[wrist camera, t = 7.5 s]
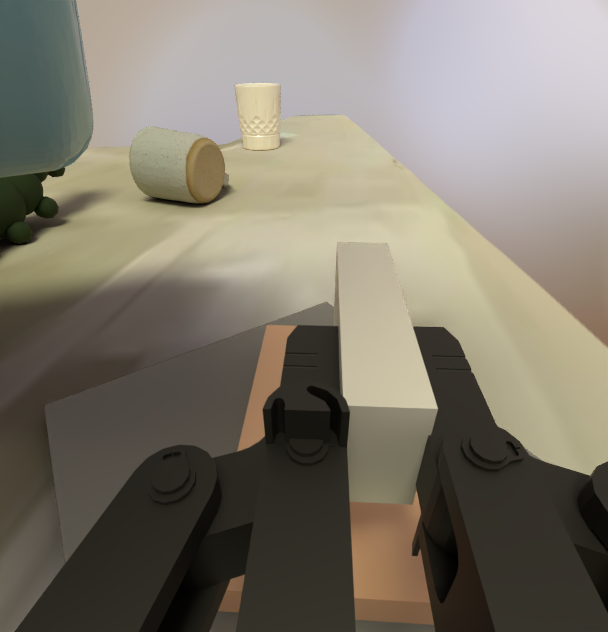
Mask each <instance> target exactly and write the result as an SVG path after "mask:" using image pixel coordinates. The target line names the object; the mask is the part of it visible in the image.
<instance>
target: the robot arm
mask: <svg viewBox="0 0 608 632" xmlns="http://www.w3.org/2000/svg"><path fill="white" fill-rule="evenodd" d="M92 133H93V112H92V103H91V95H90V88H89V81H88V75H87V67H86V61H85V54H84V48H83V41H82V35H81V29H80V23H79V16H78V10H77V4H76V0H0V178H2V177H10V176H17V175H25V174H33V173H41V172H48V171H55V170H58V169H61V168H63V167H66V166H69V165H70V164H72V163H74V162H75V161H76V160H77V159H78V158H79V157H80V156H81V154H82V153H83V152H84V151H85V150H86V149H87V147H88V145H89V142H90V140H91V137H92ZM262 410H263V420H264V430H265V436H264V437H263V438H262V439H261V440H260V441H259V442H257V443H256V444H254V445H252V446H251V447H249V448H246V449H243V450H240V451H238V452H234V453H230V454H226V455H222V456H218V457H214V458H212V457H211V456H210V455H209V453H208V452H207V451H205V450H203V449H201V448H199V447H197V446H193V445H176V446H172V447H167V448H163V449H162V450H160V451H158V452H156V453H154V454H153V455H151V456H149V457H148V458H147V459H146V460H145V461H144V462H143V463H142V464H141V465H140V466H139V467H138V468H137V469H136V470H135V471H134V472H133V473H132V475H131V476H130V477H129V479H128V480H127V482H126V483H125V484H124V486H123V487H122V488H121V490H120V491H119V492H118V494H117V495H116V496H115V498H114V499H113V500H112V502H111V503H110V504H109V506H108V507H107V508H106V510H105V511H104V512H103V514H102V515H101V516H100V518H99V519H98V520H97V522H96V523H95V524H94V526H93V527H92V528H91V530H90V531H89V533H88V534H87V535H86V537H85V538H84V539H83V541H82V542H81V543H80V545H79V546H78V547H77V549H76V550H75V551H74V553H73V554H72V555H71V557H70V558H69V559H68V561H67V562H66V563H65V565H64V566H63V567H62V569H61V570H60V571H59V573H58V574H57V575H56V577H55V578H54V579H53V581H52V582H51V584H50V585H49V586H48V588H47V589H46V590H45V592H44V593H43V594H42V596H41V597H40V598H39V600H38V601H37V602H36V604H35V605H34V606H33V608H32V609H31V610H30V612H29V613H28V614H27V616H26V617H25V618H24V620H23V621H22V622H21V624H20V625H19V626H18V628H17V629H16V630H15V632H210V629H211V627H212V624H213V622H214V619H215V617H216V614H217V612H218V609H219V607H220V605H221V602H222V600H223V597H224V595H225V592H226V590H227V587H228V585H229V582H230V580H231V579H233V578H236V577H239V576H242V575H245V577H244V583H243V589H242V595H241V602H240V608H239V614H238V620H237V626H236V632H356V625H355V604H354V583H353V561H352V540H351V519H350V502H367V503H388V504H409V505H413V501H414V497H415V493H416V490H417V495H418V500H419V505H420V510H421V515H420V519H419V522H418V525H417V529H416V532H415V536H414V539H413V542H412V556H418V554H419V551H420V550H421V555H422V561H423V566H424V572H425V577H426V583H427V588H428V594H429V599H430V605H431V611H432V616H433V622H434V627H435V632H608V462H605V463H603V464H601V465H599V466H597V467H596V468H595V470H594V471H593V473H592V474H591V476H589V475H586V474H583V473H579V472H576V471H573V470H569V469H566V468H563V467H559V466H556V465H553V464H549V463H546V462H544V461H541V460H539V459H536V458H534V457H532V456H530V455H529V454H528V452H527V451H526V450H525V448H524V447H523V445H522V444H521V443H520V441H518V440H517V439H516V438H515V437H513V436H512V435H511V434H510V433H508V432H507V431H506V430H504V429H502V428H499V427H498V426H497V425H496V423H495V421H494V419H493V416H492V414H491V412H490V410H489V407H488V405H487V403H486V401H485V399H484V396H483V394H482V392H481V390H480V388H479V385H478V383H477V381H476V379H475V376H474V374H473V373H471V368H470V365H469V363H468V361H467V359H465V354H464V352H463V350H462V348H461V345H460V343H459V341H458V340H457V339H456V338H455V337H454V336H453V335H452V334H450V333H449V332H448V331H447V330H446V329H445V328H444V327H413V326H412V322H411V319H410V316H409V312H408V309H407V306H406V303H405V299H404V296H403V293H402V290H401V286H400V283H399V280H398V277H397V273H396V270H395V267H394V264H393V260H392V257H391V254H390V250H389V247H388V244H387V243H356V242H337V255H336V279H335V303H334V326H317V325H297V326H296V328H295V329H294V330H293V331H292V332H291V334H290V335H289V336H288V337H287V343H286V349H285V356H284V363H283V369H282V376H281V383H280V387H278V388H277V389H276V390H275V391H274V392H273V393H272V394H271V395H269V396H268V398H267V400H266V402H265V404H264V407H263V409H262Z"/></svg>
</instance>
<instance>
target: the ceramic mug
mask: <svg viewBox="0 0 608 632" xmlns="http://www.w3.org/2000/svg"><path fill="white" fill-rule="evenodd" d="M129 159H130V169H131V173H132V176H133V179H134V181H135V183H136V184H137V186H138V187H139V189H140V190H141V191H142V192H143V193H145V194H146V195H148V196H151V197H155V198H162V199H168V200H176V201H183V202H189V203H207V202H210V201H212V200H213V199H214V198H215V197H216V196H217V195H218V194H219V192H220V190H221V188H222V187H227V186H228V181H229V175H228V174H226V173H225V163H224V158H223V155H222V153H221V151H220V149H219V147H218V146H217V144H216V143H215V142H213V141H212V140H210V139H208V138H206V137H204V136H201V135H197V134H192V133H186V132H179V131H175V130H169V129H164V128H159V127H146V128H144V129H142V130H141V131H139V132H138V134H137V135H136V136H135V138H134V140H133V142H132V145H131V148H130V156H129Z"/></svg>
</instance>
